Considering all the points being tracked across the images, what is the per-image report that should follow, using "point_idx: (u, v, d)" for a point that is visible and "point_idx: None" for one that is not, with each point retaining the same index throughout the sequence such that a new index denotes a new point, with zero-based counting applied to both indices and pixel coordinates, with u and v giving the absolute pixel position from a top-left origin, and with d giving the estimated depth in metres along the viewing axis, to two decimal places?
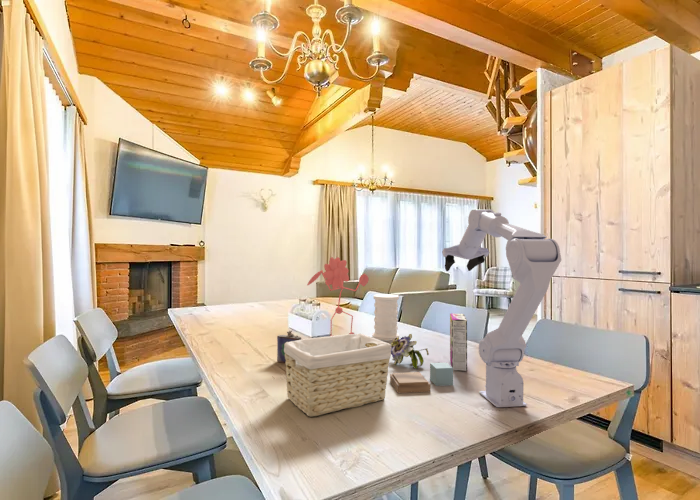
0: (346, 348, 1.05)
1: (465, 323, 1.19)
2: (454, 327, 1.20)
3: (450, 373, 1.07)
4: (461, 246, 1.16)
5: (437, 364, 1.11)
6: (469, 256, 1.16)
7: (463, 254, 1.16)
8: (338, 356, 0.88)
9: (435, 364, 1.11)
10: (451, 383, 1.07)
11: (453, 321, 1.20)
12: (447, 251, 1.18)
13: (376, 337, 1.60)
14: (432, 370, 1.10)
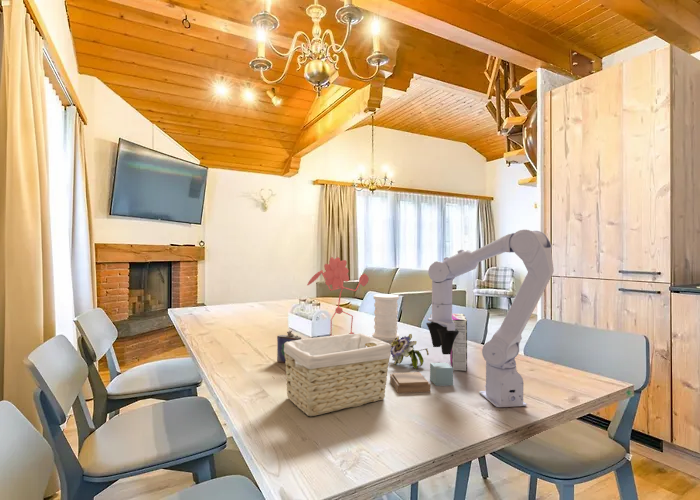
0: (346, 348, 1.05)
1: (465, 323, 1.19)
2: None
3: (450, 373, 1.07)
4: (447, 311, 1.07)
5: (437, 364, 1.11)
6: None
7: (451, 317, 1.08)
8: (338, 355, 0.88)
9: (435, 364, 1.11)
10: (451, 383, 1.07)
11: (453, 321, 1.20)
12: None
13: (376, 337, 1.60)
14: (432, 370, 1.10)
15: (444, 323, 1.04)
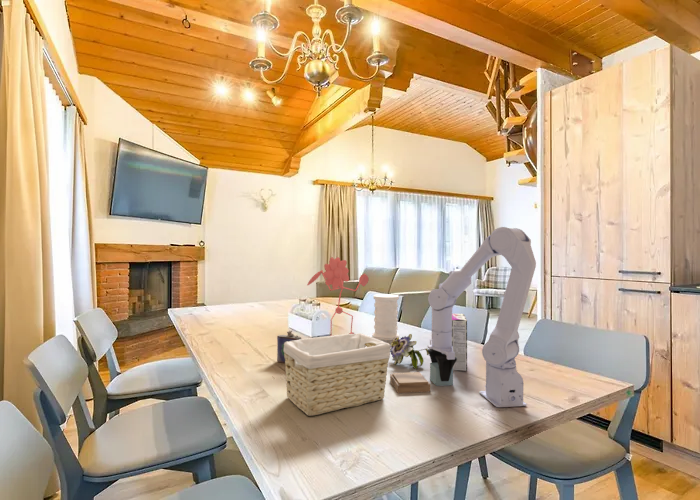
0: (346, 348, 1.05)
1: (465, 323, 1.19)
2: (454, 327, 1.20)
3: None
4: (447, 339, 1.07)
5: (437, 364, 1.11)
6: None
7: (451, 345, 1.08)
8: (337, 355, 0.88)
9: (435, 364, 1.11)
10: (451, 383, 1.07)
11: (453, 321, 1.20)
12: (450, 352, 1.03)
13: (376, 337, 1.60)
14: (432, 370, 1.10)
15: (444, 351, 1.04)
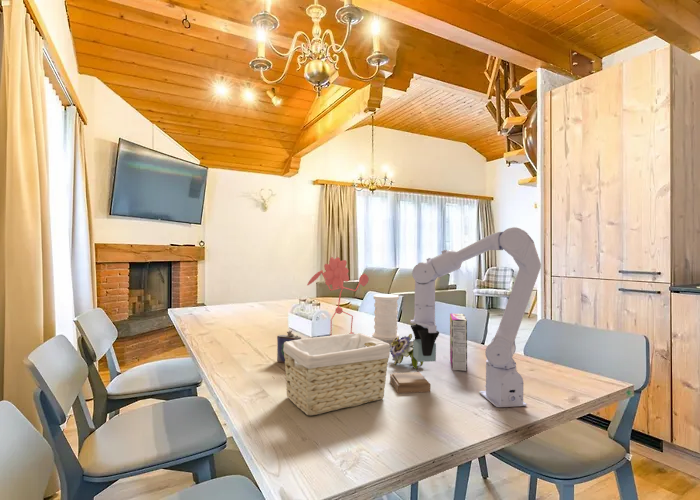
0: (345, 348, 1.05)
1: (465, 323, 1.19)
2: (454, 327, 1.20)
3: (433, 349, 1.06)
4: (429, 313, 1.05)
5: (420, 340, 1.09)
6: None
7: (433, 319, 1.06)
8: (337, 355, 0.88)
9: (418, 340, 1.09)
10: (434, 359, 1.06)
11: (453, 321, 1.20)
12: None
13: (376, 337, 1.60)
14: (415, 346, 1.08)
15: (426, 325, 1.02)
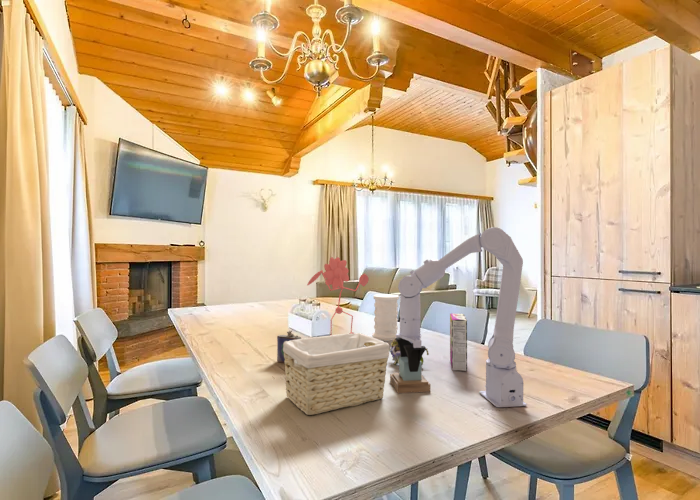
0: (345, 347, 1.06)
1: (465, 323, 1.19)
2: (454, 327, 1.20)
3: None
4: (414, 327, 1.04)
5: (406, 358, 1.07)
6: None
7: (419, 333, 1.05)
8: (336, 355, 0.88)
9: (404, 358, 1.07)
10: (419, 377, 1.04)
11: (453, 321, 1.20)
12: None
13: (376, 337, 1.60)
14: (401, 364, 1.07)
15: (411, 340, 1.01)
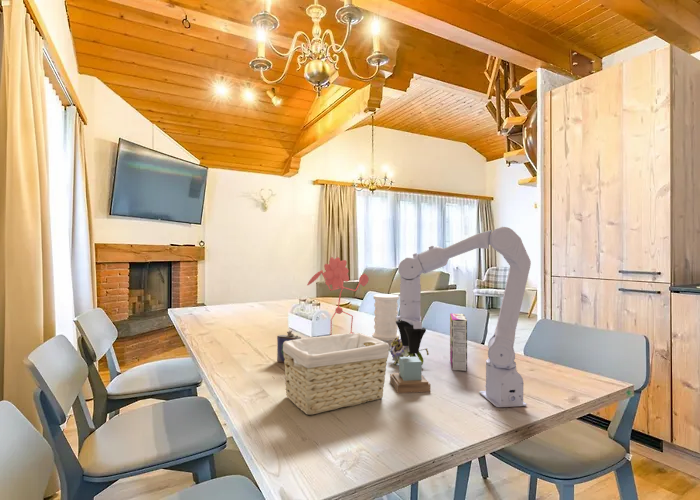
0: (345, 347, 1.06)
1: (465, 323, 1.19)
2: (454, 327, 1.20)
3: (418, 367, 1.04)
4: (415, 309, 1.04)
5: (406, 358, 1.07)
6: None
7: (419, 315, 1.05)
8: (336, 355, 0.89)
9: (404, 358, 1.07)
10: (419, 377, 1.04)
11: (453, 321, 1.20)
12: None
13: (376, 337, 1.60)
14: (401, 364, 1.07)
15: (411, 321, 1.01)
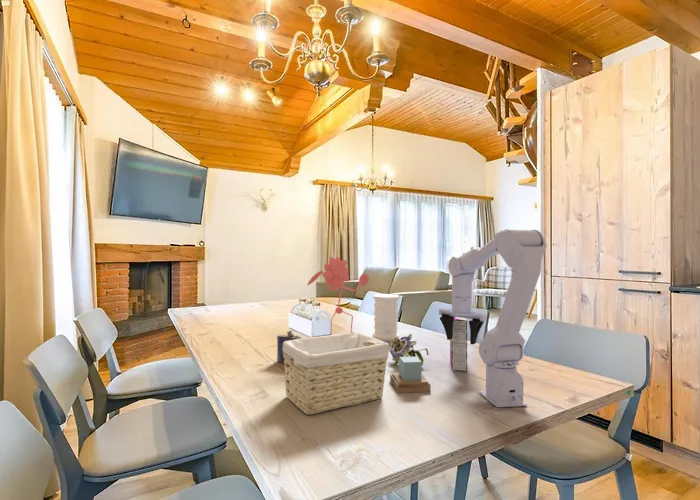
0: (344, 347, 1.06)
1: (465, 323, 1.19)
2: (454, 327, 1.20)
3: (418, 367, 1.04)
4: (471, 303, 1.14)
5: (406, 358, 1.07)
6: None
7: None
8: (336, 355, 0.89)
9: (404, 358, 1.07)
10: (419, 377, 1.04)
11: None
12: None
13: (376, 337, 1.60)
14: (401, 364, 1.07)
15: (476, 315, 1.11)
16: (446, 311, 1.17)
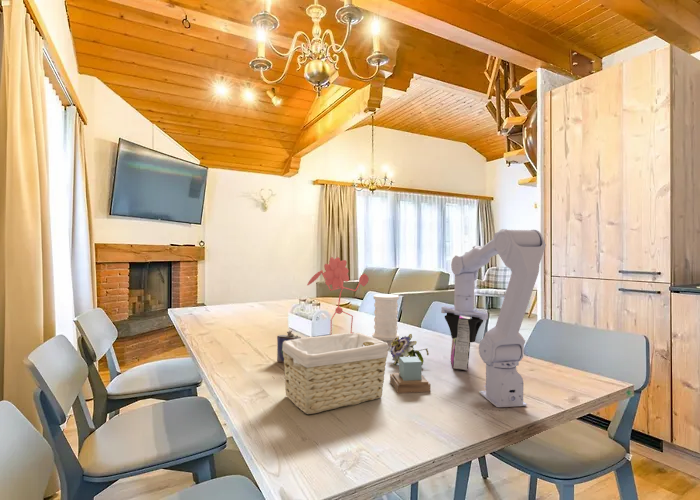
0: (344, 347, 1.06)
1: None
2: (459, 325, 1.20)
3: (418, 367, 1.04)
4: (473, 302, 1.14)
5: (406, 358, 1.07)
6: None
7: None
8: (335, 354, 0.89)
9: (404, 358, 1.07)
10: (419, 377, 1.04)
11: None
12: None
13: (376, 337, 1.60)
14: (401, 364, 1.07)
15: (478, 314, 1.11)
16: (448, 309, 1.17)
